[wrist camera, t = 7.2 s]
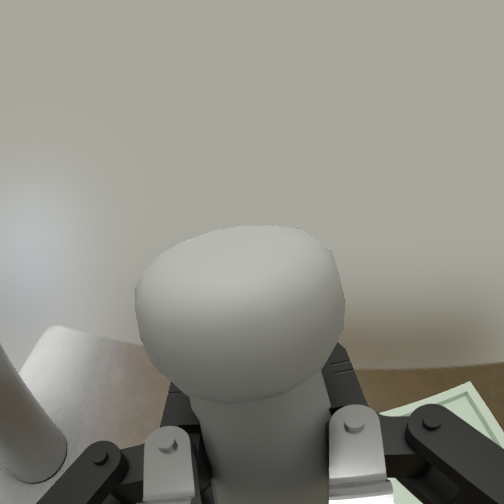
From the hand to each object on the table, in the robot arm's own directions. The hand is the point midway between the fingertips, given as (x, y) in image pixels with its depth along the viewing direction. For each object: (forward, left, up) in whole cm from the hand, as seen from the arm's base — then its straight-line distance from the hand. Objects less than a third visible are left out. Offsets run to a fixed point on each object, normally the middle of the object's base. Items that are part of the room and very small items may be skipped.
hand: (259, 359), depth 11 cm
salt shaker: (0, -3, -8) cm, 8 cm away
